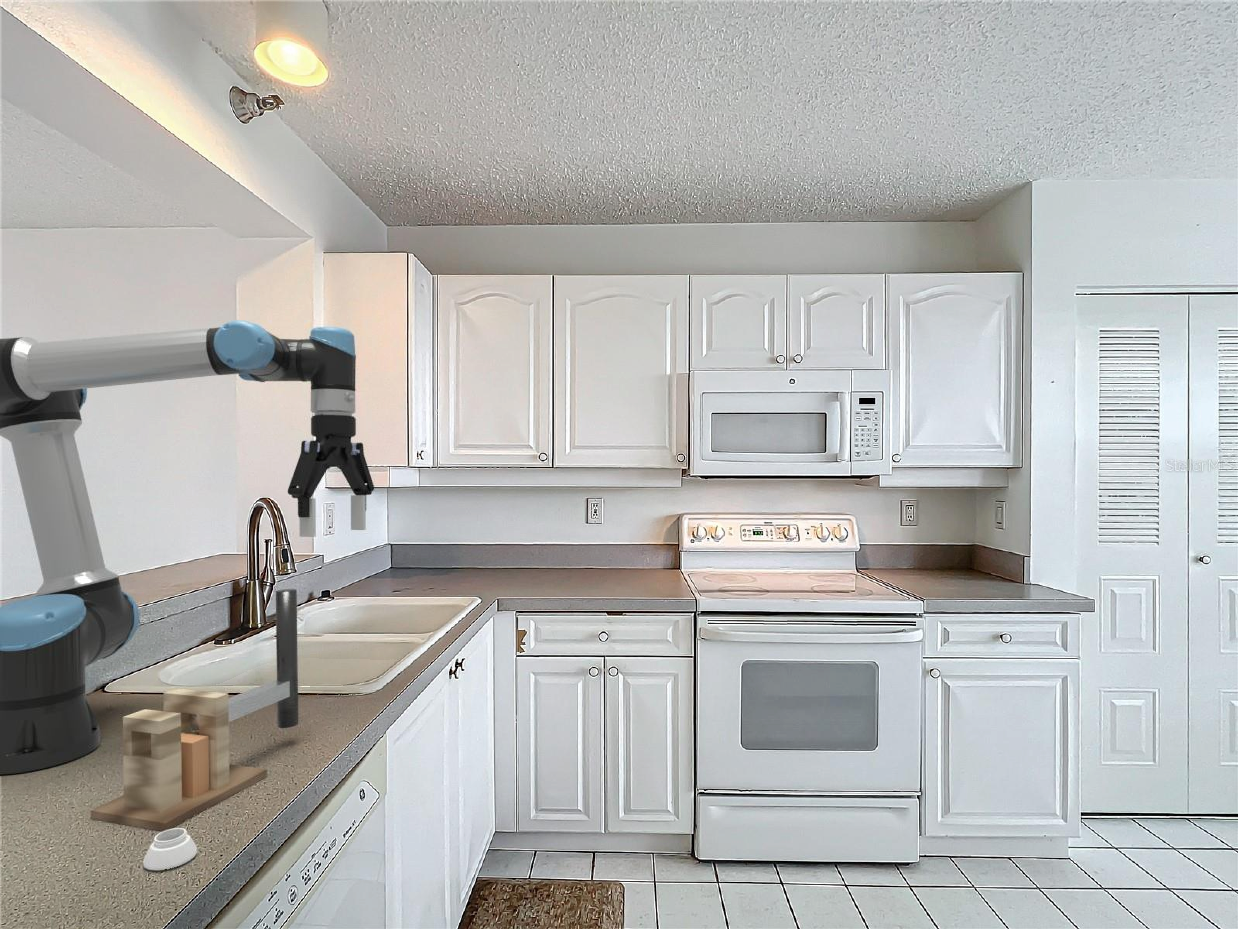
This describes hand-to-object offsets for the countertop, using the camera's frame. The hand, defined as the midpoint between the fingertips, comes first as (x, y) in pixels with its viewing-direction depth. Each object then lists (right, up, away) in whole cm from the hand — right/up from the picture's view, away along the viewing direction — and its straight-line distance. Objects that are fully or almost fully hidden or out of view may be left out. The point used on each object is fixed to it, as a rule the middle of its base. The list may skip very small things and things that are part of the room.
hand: (334, 533), depth 131 cm
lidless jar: (+2, -32, -50) cm, 60 cm away
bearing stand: (-6, -31, -34) cm, 47 cm away
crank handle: (-3, -28, -24) cm, 37 cm away
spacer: (-6, -30, -35) cm, 47 cm away
